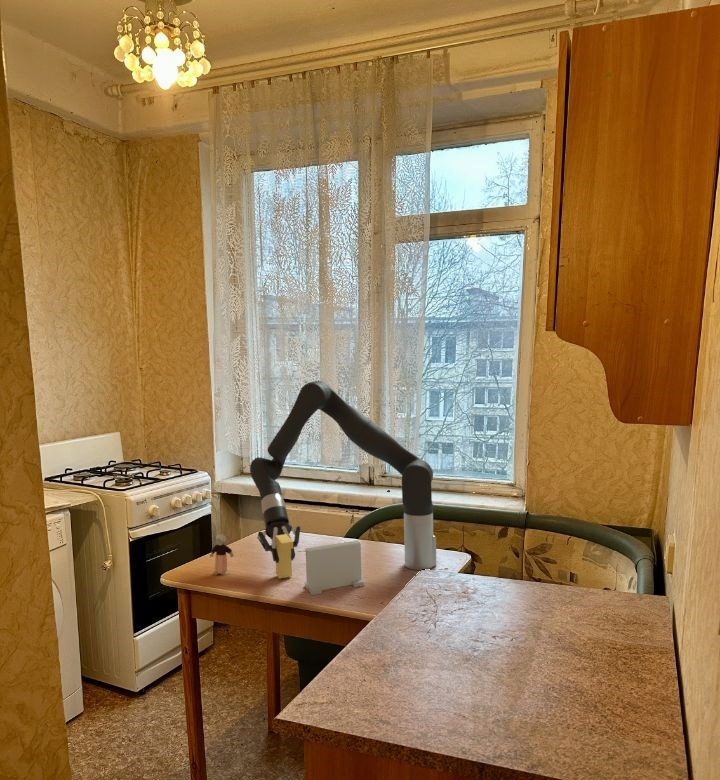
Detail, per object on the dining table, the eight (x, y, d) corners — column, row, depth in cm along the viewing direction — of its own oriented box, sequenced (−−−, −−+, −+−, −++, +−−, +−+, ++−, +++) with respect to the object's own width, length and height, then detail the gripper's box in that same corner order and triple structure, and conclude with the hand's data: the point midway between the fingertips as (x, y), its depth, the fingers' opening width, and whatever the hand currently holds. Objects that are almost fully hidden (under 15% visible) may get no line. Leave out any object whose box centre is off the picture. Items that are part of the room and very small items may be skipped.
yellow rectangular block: (288, 571, 174) (287, 533, 174) (295, 581, 167) (294, 541, 166) (276, 573, 173) (274, 535, 172) (282, 583, 165) (280, 543, 165)
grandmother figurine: (208, 576, 174) (206, 536, 173) (211, 571, 177) (209, 532, 177) (233, 575, 174) (231, 535, 173) (235, 570, 178) (234, 531, 177)
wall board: (355, 577, 170) (354, 538, 169) (364, 585, 164) (363, 545, 163) (304, 586, 164) (303, 546, 164) (311, 595, 158) (310, 553, 157)
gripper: (253, 507, 175) (263, 558, 164) (297, 502, 180) (309, 551, 169) (251, 520, 180) (260, 570, 170) (294, 514, 185) (305, 562, 175)
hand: (285, 560), depth 170 cm, fingers closed on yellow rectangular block, 4 cm apart
